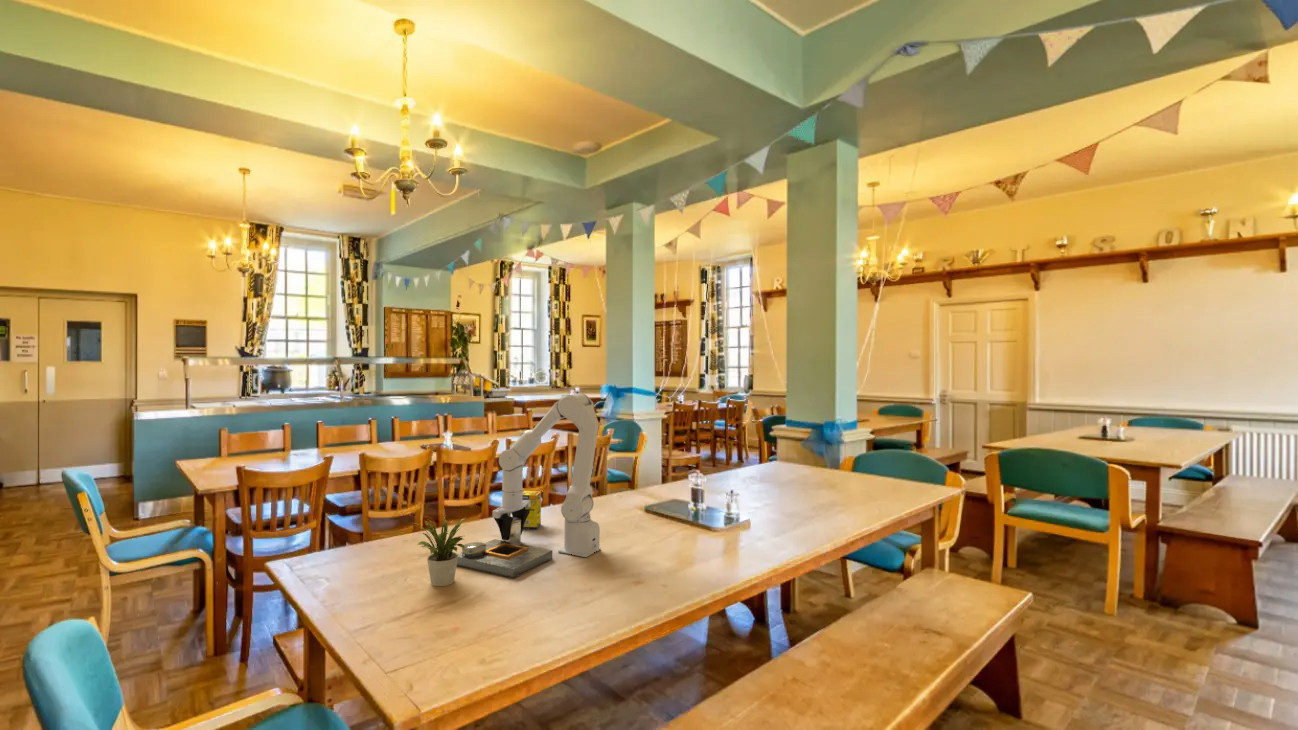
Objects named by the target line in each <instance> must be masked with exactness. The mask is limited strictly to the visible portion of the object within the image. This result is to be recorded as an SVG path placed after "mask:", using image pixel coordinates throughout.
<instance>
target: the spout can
mask: <svg viewBox="0 0 1298 730" xmlns="http://www.w3.org/2000/svg"><path fill="white" fill-rule="evenodd" d="M508 515H509V517H513V516H511V515H512V513H509V514H508ZM521 538H522V535H521V518H519V517H513V520H512V523H511V528H510V538H509V540H502V541H507V542H513V543H518V544H522V539H521Z"/></svg>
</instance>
